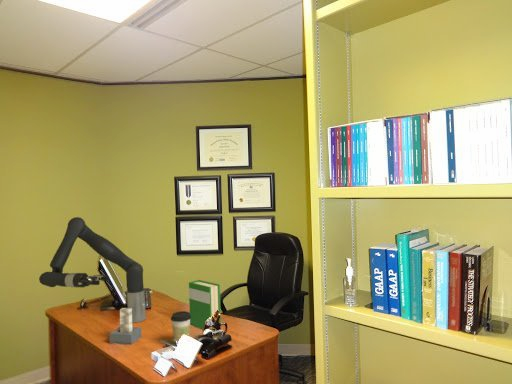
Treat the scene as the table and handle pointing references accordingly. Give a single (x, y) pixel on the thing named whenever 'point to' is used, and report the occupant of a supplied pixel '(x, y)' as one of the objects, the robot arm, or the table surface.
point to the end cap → (125, 336)
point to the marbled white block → (126, 320)
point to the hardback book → (203, 302)
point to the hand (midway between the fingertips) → (104, 280)
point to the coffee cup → (180, 324)
